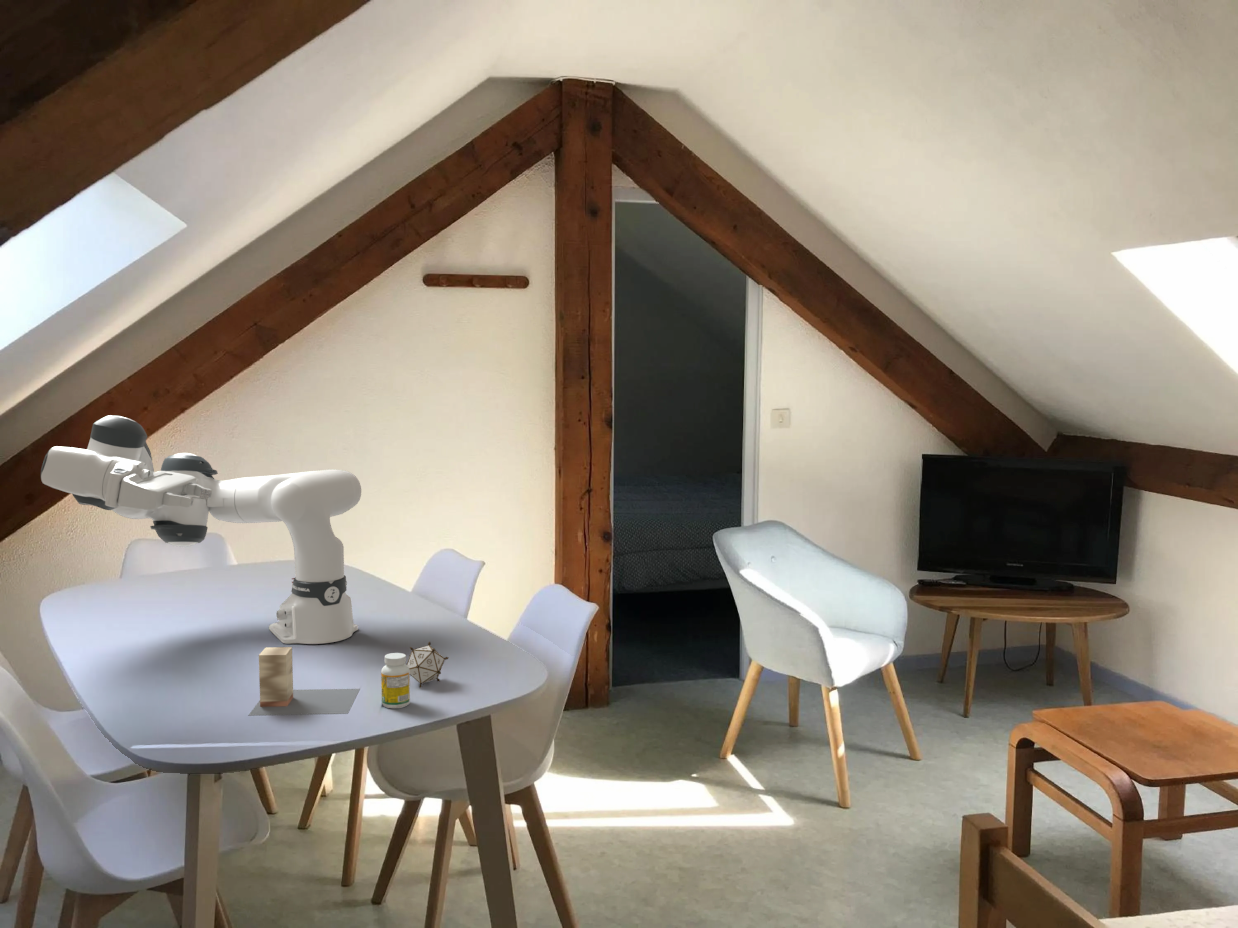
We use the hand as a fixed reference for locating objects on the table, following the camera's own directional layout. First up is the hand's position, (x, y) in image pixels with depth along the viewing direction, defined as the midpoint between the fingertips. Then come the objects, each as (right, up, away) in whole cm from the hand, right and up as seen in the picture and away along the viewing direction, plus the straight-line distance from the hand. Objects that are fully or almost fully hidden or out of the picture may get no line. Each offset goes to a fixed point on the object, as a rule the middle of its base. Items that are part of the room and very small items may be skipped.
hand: (201, 498), depth 199 cm
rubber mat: (+20, -40, +1) cm, 44 cm away
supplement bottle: (+37, -40, +2) cm, 54 cm away
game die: (+40, -38, +14) cm, 57 cm away
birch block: (+14, -39, 0) cm, 41 cm away
